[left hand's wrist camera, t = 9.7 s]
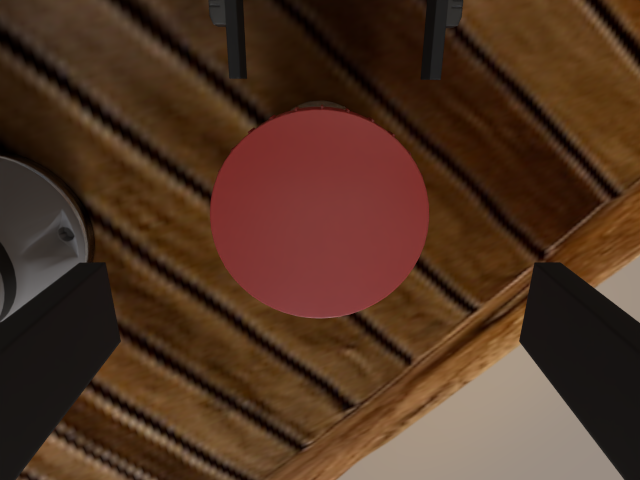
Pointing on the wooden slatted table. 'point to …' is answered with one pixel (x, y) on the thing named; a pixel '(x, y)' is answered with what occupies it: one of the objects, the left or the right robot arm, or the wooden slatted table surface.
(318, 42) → the wooden slatted table surface
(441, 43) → the right robot arm
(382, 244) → the lid
